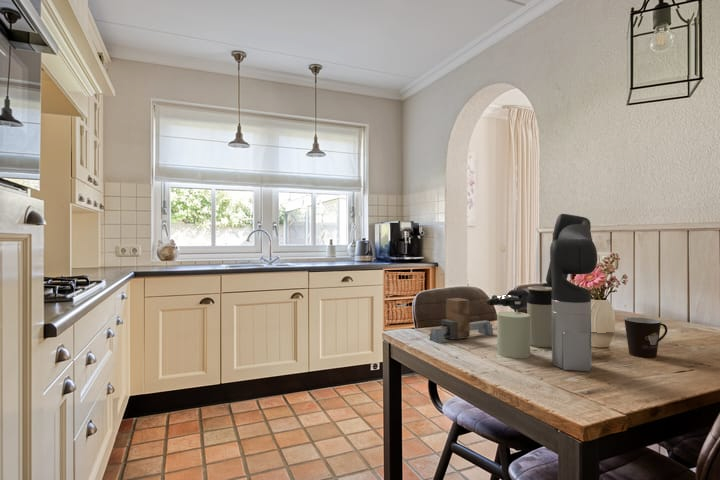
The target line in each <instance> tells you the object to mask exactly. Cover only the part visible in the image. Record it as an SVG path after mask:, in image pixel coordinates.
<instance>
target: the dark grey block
mask: <svg viewBox="0 0 720 480" xmlns="http://www.w3.org/2000/svg"><path fill="white" fill-rule="evenodd" d="M446 325H449V326H450V334H444V338H445V339H446V338H447V339H450V340H457V339H458V338H457V322H456V321H452V320H448V319H446V318H444V319H441V325H440V326H446Z"/></svg>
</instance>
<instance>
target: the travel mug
mask: <svg viewBox="0 0 720 480" xmlns="http://www.w3.org/2000/svg"><path fill="white" fill-rule="evenodd" d="M539 286H540V285H539ZM539 286H528V287H527V289H529V295H528V297H527V309H526V312H527V314H529V315H530V346H531V347H536V348H542V349H543V348H544V349H545V348H546V349H548V348H549V349H550V348H552V288H551V287H539Z"/></svg>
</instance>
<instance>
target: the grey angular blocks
mask: <svg viewBox="0 0 720 480" xmlns="http://www.w3.org/2000/svg"><path fill="white" fill-rule="evenodd" d="M477 331H478V332H477V333H479V334H483V335H487V336H492V335H494V328H493V323H490V324H486V328H484V329H478V330H477ZM429 340H430V341H432V342H436V343H438V344H441V343H445V337H444V331H442V330H440V331H437V336H436V335H433V334H432V328H430V332H429Z"/></svg>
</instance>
